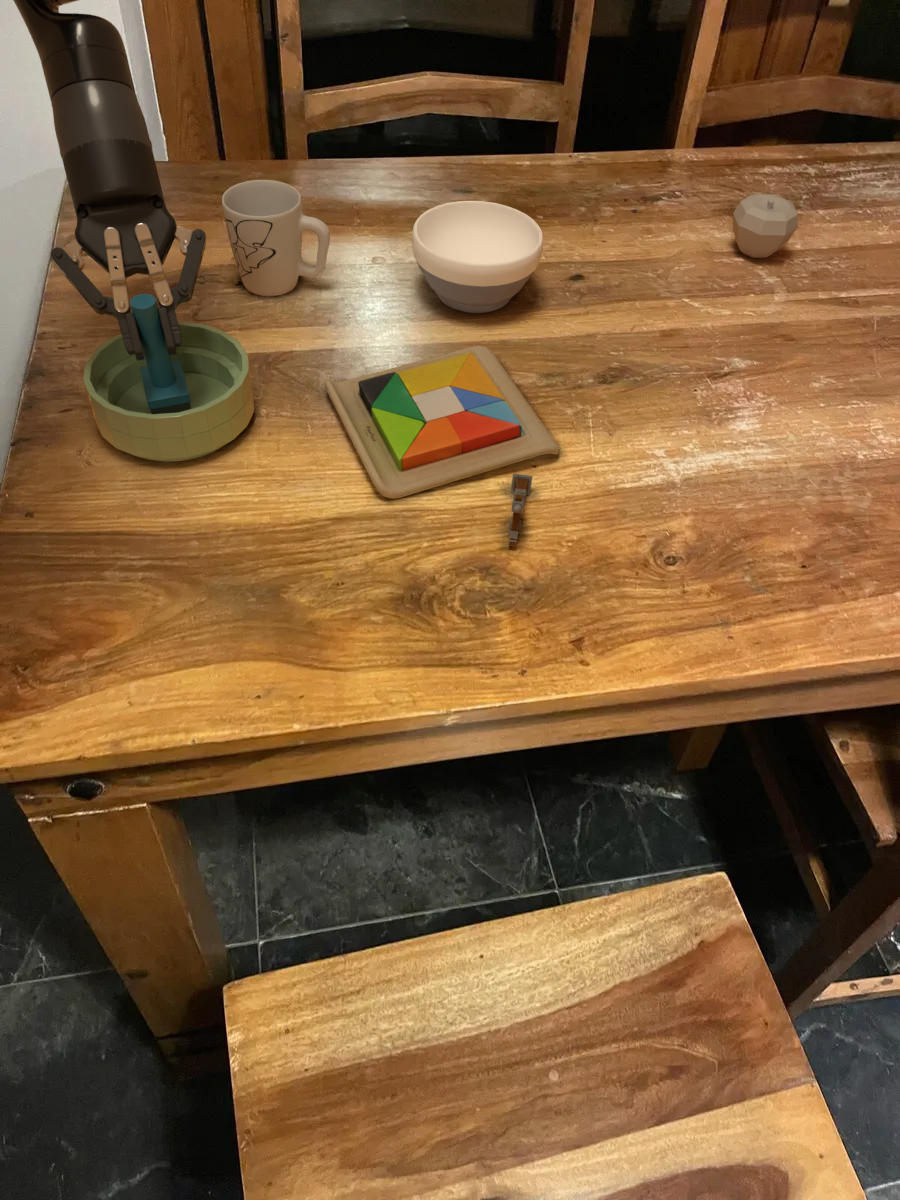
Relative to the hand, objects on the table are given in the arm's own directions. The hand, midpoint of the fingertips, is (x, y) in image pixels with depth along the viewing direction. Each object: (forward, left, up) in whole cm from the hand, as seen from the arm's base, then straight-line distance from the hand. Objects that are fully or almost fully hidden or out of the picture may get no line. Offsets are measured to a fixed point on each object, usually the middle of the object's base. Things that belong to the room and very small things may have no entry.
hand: (156, 354), depth 82 cm
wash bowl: (+2, +2, -9) cm, 10 cm away
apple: (+74, -19, -9) cm, 77 cm away
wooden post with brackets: (+16, -30, -9) cm, 35 cm away
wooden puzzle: (+20, -16, -9) cm, 27 cm away
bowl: (+40, -2, -9) cm, 41 cm away
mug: (+25, +14, -9) cm, 30 cm away
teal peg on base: (+1, +2, -8) cm, 8 cm away
